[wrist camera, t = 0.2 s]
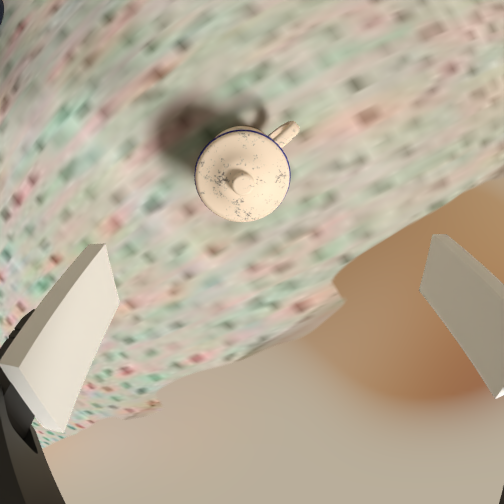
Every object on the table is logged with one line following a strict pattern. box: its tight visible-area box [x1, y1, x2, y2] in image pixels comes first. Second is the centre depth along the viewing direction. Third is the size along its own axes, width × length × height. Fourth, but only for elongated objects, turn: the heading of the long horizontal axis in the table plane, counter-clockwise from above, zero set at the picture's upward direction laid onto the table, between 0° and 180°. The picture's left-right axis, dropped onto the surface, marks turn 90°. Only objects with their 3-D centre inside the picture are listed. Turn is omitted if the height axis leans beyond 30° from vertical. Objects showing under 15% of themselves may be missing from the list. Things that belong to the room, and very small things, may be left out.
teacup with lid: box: [194, 121, 300, 222], centre depth 32 cm, size 12×9×12 cm
